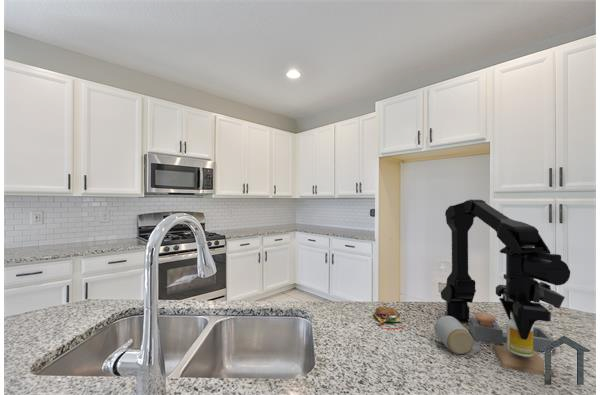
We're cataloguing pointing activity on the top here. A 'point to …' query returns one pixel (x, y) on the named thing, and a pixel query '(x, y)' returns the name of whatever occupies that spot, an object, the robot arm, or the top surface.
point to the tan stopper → (485, 318)
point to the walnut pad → (519, 361)
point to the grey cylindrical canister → (455, 335)
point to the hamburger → (387, 315)
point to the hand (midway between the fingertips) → (519, 333)
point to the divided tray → (497, 335)
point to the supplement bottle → (518, 340)
